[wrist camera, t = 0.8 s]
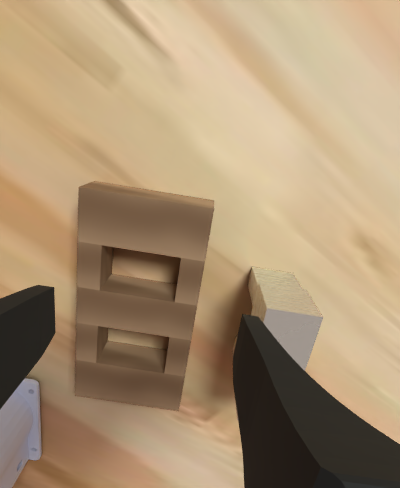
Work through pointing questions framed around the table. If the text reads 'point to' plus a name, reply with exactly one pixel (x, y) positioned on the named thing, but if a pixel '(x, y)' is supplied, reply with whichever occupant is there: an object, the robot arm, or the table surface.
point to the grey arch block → (285, 311)
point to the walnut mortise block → (136, 292)
